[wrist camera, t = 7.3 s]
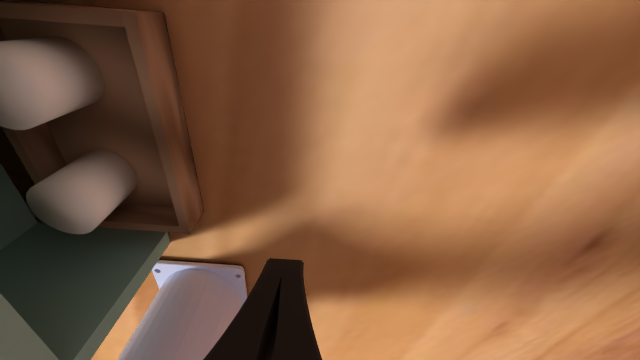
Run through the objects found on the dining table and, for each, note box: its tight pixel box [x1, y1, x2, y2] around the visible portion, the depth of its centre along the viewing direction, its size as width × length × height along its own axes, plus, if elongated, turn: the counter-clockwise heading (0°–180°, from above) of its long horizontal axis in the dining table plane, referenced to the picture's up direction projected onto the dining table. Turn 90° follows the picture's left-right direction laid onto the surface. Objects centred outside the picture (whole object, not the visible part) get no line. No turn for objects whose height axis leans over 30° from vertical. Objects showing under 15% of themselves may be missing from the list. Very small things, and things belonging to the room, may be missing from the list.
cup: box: [26, 149, 138, 234], centre depth 17 cm, size 4×4×4 cm
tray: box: [0, 0, 204, 234], centre depth 16 cm, size 13×9×2 cm
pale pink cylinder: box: [0, 36, 104, 130], centre depth 14 cm, size 4×4×4 cm
